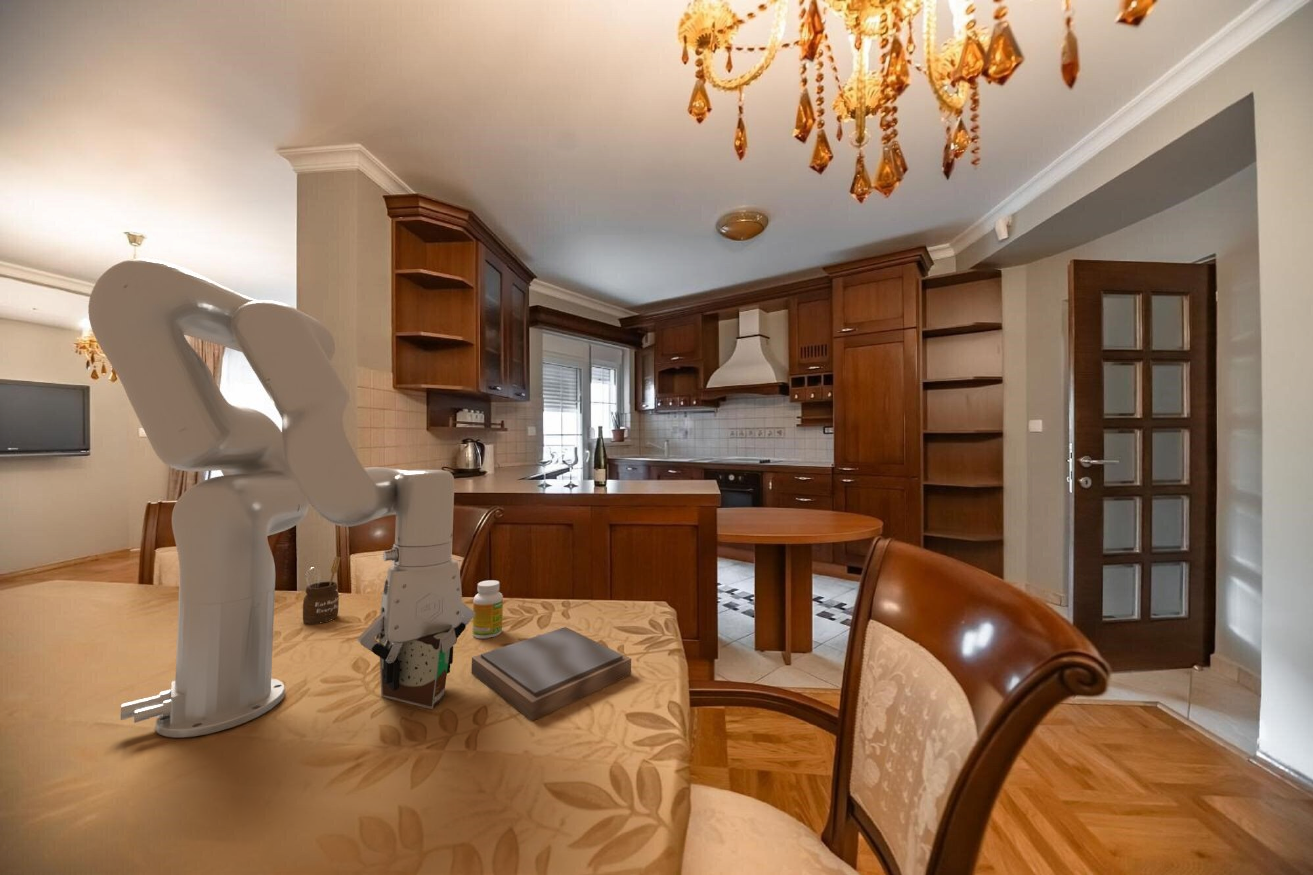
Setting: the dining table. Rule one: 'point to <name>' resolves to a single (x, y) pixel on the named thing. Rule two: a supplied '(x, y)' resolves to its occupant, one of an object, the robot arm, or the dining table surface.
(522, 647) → the podium
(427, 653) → the food container
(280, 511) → the robot arm
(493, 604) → the supplement bottle
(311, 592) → the utensil holder
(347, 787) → the dining table surface
